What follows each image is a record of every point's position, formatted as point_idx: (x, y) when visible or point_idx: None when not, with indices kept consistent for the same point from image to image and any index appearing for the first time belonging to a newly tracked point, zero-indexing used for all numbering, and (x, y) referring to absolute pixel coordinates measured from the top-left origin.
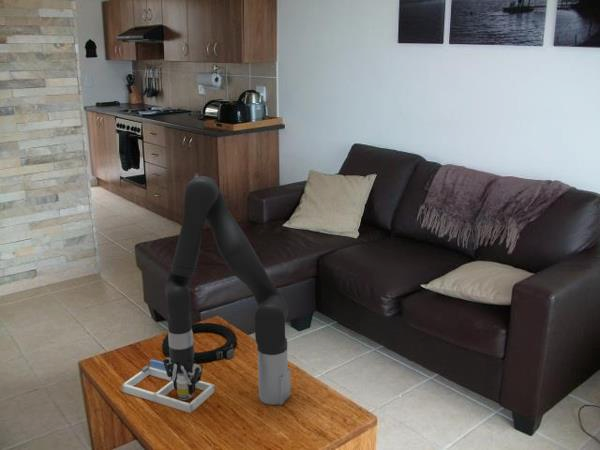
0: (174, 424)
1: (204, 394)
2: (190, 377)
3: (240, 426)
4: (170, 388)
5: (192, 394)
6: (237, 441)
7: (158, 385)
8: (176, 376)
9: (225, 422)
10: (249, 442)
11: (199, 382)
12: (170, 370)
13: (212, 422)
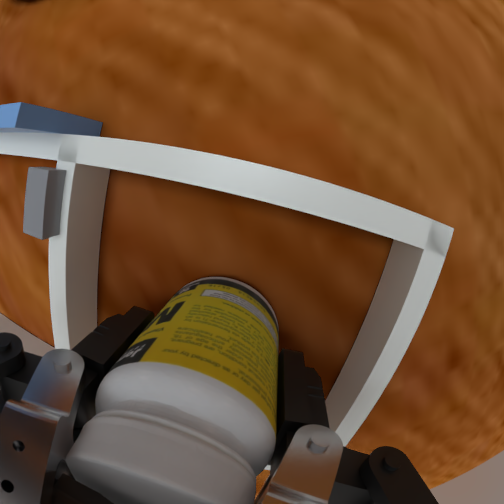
0: None
1: (392, 366)
2: (254, 442)
3: (498, 422)
4: (85, 280)
5: (278, 332)
6: (474, 464)
7: (23, 224)
8: (79, 418)
9: (463, 431)
10: (496, 452)
11: (303, 209)
12: (2, 131)
13: (420, 449)
